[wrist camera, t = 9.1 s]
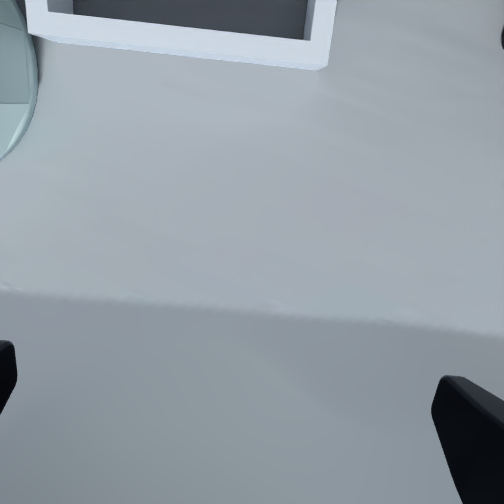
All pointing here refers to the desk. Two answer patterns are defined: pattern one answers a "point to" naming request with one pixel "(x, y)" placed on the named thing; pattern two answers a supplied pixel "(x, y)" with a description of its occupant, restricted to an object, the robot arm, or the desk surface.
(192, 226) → the desk surface
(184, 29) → the tray
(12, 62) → the bowl
